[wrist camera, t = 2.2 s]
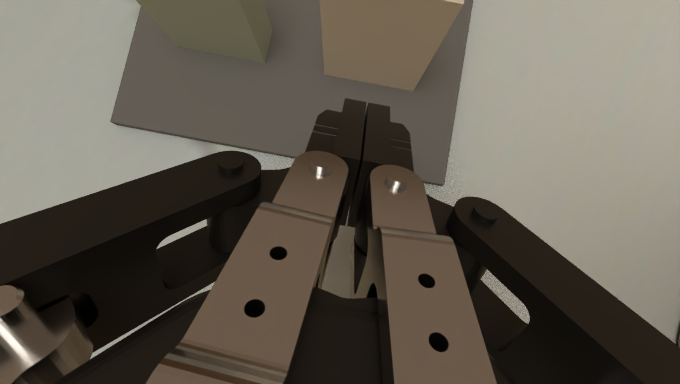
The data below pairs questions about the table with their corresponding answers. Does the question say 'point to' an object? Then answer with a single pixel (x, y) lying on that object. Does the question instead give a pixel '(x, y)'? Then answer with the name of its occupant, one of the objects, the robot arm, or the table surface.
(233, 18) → the one-dot tile
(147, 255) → the robot arm
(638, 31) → the table surface
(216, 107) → the slate mat
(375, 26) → the plain beige block
